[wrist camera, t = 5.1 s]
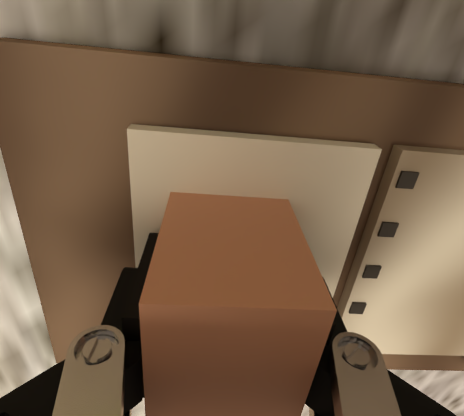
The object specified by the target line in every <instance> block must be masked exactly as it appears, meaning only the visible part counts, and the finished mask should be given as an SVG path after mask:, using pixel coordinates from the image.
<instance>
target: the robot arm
mask: <svg viewBox="0 0 464 416" xmlns="http://www.w3.org/2000/svg"><path fill="white" fill-rule="evenodd" d="M158 234H159V233H149V236H148V239H147V242H146V245H145V248H144V251H143V254H142V257H141V260H140V263H139V266H138V268H132V267H124V268H123V270H122V272H121V274H120V277H119V280H118V282H117V285H116V287H115V290H114V292H113V295H112V297H111V300H110V302H109V305H108V307H107V310H106V312H105V315H104V318H103V320H102V323H101V325H98V326H94V327H90V328H88V329H86V330H84V331H82V332H81V333H80V334H78V335H77V336H76V337H75V338H74V339H73V341H72V342H71V343H70V345H69V348H68V350H67V354H66V359H64V360H63V361H61V362H59V363H58V364H56V365H54V366H53V367H51V368H50V369H48V370H46V371H45V372H43V373H41V374H40V375H38V376H36V377H35V378H33V379H31V380H30V381H28V382H26V383H25V384H23V385H21V386H20V387H18V388H16V389H15V390H13V391H11V392H10V393H8V394H6V395H5V396H3V397H1V398H0V416H131V409H132V408H133V407H135V406H136V405H137V404H138V403H139V402H141V401H142V398H144V381H143V365H142V349H141V333H140V317H139V301H140V297H141V294H142V290H143V287H144V283H145V280H146V276H147V273H148V269H149V266H150V262H151V259H152V255H153V252H154V248H155V245H156V241H157V238H158ZM323 280H324V278H323ZM324 282H325V280H324ZM325 284H326V282H325ZM326 287H327V289H328V286H327V284H326ZM328 291H329V289H328ZM329 293H330V291H329ZM330 296H331V298H332V295H331V293H330ZM332 300H333V298H332ZM333 302H334V300H333ZM334 305H335V307H336V304H335V302H334ZM336 309H337V307H336ZM305 404H306V405H307V406H308V407H310V408H309V416H456V415H455V414H453V413H452V412H451V411H449V410H448V409H446V408H445V407H443V406H442V405H440V404H439V403H437V402H436V401H434V400H433V399H431V398H430V397H428V396H426V395H425V394H423V393H422V392H420V391H419V390H417V389H416V388H414V387H413V386H411V385H410V384H408V383H407V382H405V381H404V380H402V379H401V378H399V377H398V376H396V375H395V374H393V373H392V372H390V371H389V370H387V368H386V365H385V361H384V358H383V356H382V354H381V352H380V350H379V349H378V347H377V346H376V345H375V344H374V343H373V342H372V341H370V340H369V339H368V338H366V337H364V336H362V335H360V334H357V333H354V332H347V329H346V327H345V325H344V323H343V320H342V318H341V316H340V314H339V311H338V309H337V312H336V315H335V318H334V321H333V324H332V327H331V330H330V332H329V335H328V338H327V341H326V344H325V347H324V350H323V353H322V355H321V358H320V361H319V364H318V367H317V370H316V373H315V376H314V378H313V381H312V384H311V387H310V390H309V393H308V396H307V399H306V401H305Z"/></svg>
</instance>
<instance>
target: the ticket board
mask: <svg viewBox="0 0 464 416" xmlns="http://www.w3.org/2000/svg"><path fill="white" fill-rule="evenodd" d="M131 124H138V125H150V126H162V127H175V128H187V129H199V130H211V131H224V132H236V133H248V134H260V135H273V136H285V137H297V138H309V139H322V140H334V141H346V142H358V143H371V144H375V145H376V146H378V147H379V148H381V149H382V151H381V154H380V157H379V160H378V163H377V166H376V169H375V172H374V175H373V178H372V181H371V184H370V187H369V190H368V193H367V196H366V199H365V202H364V205H363V208H362V211H361V214H360V217H359V220H358V223H357V227H356V230H355V233H354V236H353V239H352V242H351V245H350V248H349V251H348V254H347V257H346V260H345V263H344V266H343V269H342V272H341V275H340V278H339V281H338V284H337V287H336V290H335V293H334V296H333V300H334V302H335V304H336V307H337V309H338V311H339V314H340V316H341V318H342V320H343V323H344V325H345V327H346V329H347V332H354V333H357V334H360V335H362V336H364V337H366V338H368V339H369V340H370V341H372V342H373V343H374V344H375V345H376V346H377V347H378V349H379V350H380V352H381V354H382V356H383V358H384V361H385V365H386V368H387V369H400V370H453V371H464V84H459V83H449V82H439V81H429V80H419V79H409V78H400V77H390V76H380V75H370V74H360V73H350V72H340V71H330V70H320V69H310V68H300V67H290V66H281V65H271V64H261V63H251V62H241V61H231V60H221V59H211V58H201V57H191V56H181V55H171V54H162V53H152V52H142V51H132V50H122V49H112V48H102V47H92V46H82V45H72V44H62V43H53V42H43V41H33V40H23V39H13V38H0V148H1V151H2V155H3V159H4V163H5V167H6V171H7V174H8V178H9V182H10V186H11V190H12V194H13V197H14V201H15V205H16V209H17V213H18V217H19V221H20V224H21V228H22V232H23V236H24V240H25V244H26V247H27V251H28V255H29V259H30V263H31V267H32V270H33V274H34V278H35V282H36V286H37V290H38V293H39V297H40V301H41V305H42V309H43V313H44V316H45V320H46V324H47V328H48V332H49V336H50V340H51V343H52V347H53V351H54V355H55V359H56V363H59V362H61V361H63V360H64V359H66V354H67V350H68V348H69V345H70V343H71V342H72V341H73V339H74V338H75V337H76V336H77V335H78V334H80V333H81V332H82V331H84V330H86V329H88V328H90V327H94V326H98V325H101V323H102V320H103V318H104V315H105V312H106V310H107V307H108V305H109V302H110V300H111V297H112V295H113V292H114V290H115V287H116V285H117V282H118V280H119V277H120V274H121V272H122V270H123V268H124V267H132V268H136V267H135V251H134V235H133V219H132V204H131V188H130V172H129V156H128V141H127V128H128V127H129V126H130V125H131Z"/></svg>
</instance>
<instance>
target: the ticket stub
mask: <svg viewBox="0 0 464 416" xmlns="http://www.w3.org/2000/svg"><path fill="white" fill-rule="evenodd" d="M127 141H128V156H129V172H130V188H131V204H132V219H133V235H134V251H135V267H136V268H138V266H139V263H140V260H141V257H142V254H143V251H144V248H145V245H146V242H147V239H148V236H149V233H159V234H158V238H157V241H156V245H155V248H154V252H153V255H152V259H151V262H150V266H149V269H148V273H147V276H146V280H145V283H144V287H143V290H142V294H141V297H140V301H139V317H140V333H141V349H142V365H143V381H144V398H145V414H146V416H301V413H302V410H303V407H304V404H305V401H306V399H307V396H308V393H309V390H310V387H311V384H312V381H313V378H314V376H315V373H316V370H317V367H318V364H319V361H320V358H321V355H322V353H323V350H324V347H325V344H326V341H327V338H328V335H329V332H330V330H331V327H332V324H333V321H334V318H335V315H336V312H337V309H336V307H335V305H334V302H333V300H332V298H333V296H334V293H335V290H336V287H337V284H338V281H339V278H340V275H341V272H342V269H343V266H344V263H345V260H346V257H347V254H348V251H349V248H350V245H351V242H352V239H353V236H354V233H355V230H356V227H357V223H358V220H359V217H360V214H361V211H362V208H363V205H364V202H365V199H366V196H367V193H368V190H369V187H370V184H371V181H372V178H373V175H374V172H375V169H376V166H377V163H378V160H379V157H380V154H381V151H382V149H381V148H379V147H378V146H376V145H375V144H371V143H358V142H346V141H334V140H322V139H309V138H297V137H285V136H273V135H260V134H248V133H236V132H224V131H211V130H199V129H187V128H175V127H162V126H150V125H138V124H131V125H130V126H129V127H128V128H127ZM323 278H324V280H325V282H326V284H327V286H328V289H329V291H330V293H331V295H332V298H331V296H330V293H329V291H328V289H327V287H326V284H325V282H324V280H323Z"/></svg>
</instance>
